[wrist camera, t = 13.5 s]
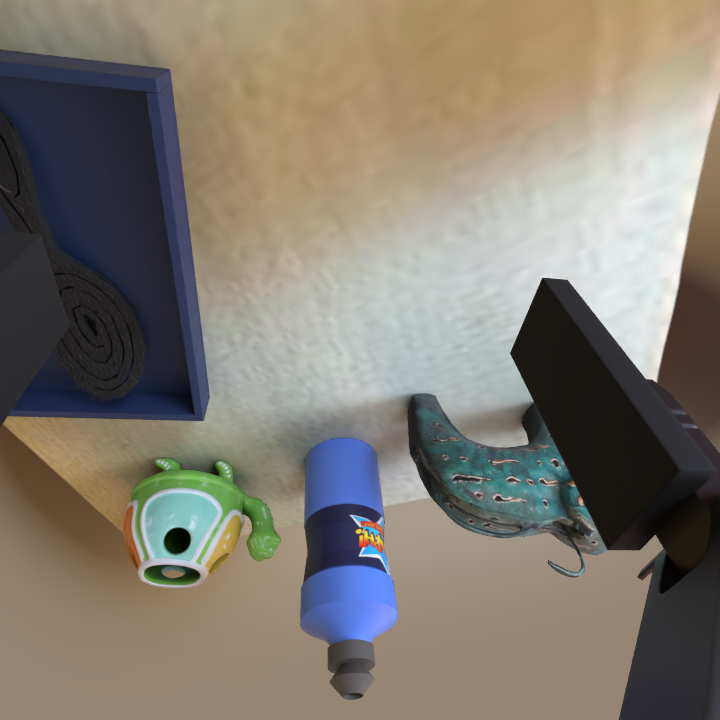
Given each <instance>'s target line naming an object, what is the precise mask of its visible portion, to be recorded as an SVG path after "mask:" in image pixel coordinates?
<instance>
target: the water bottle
mask: <svg viewBox="0 0 720 720" xmlns="http://www.w3.org/2000/svg"><path fill="white" fill-rule="evenodd" d="M384 523H385V521H384V513H383V503H382V495H381V486H380V478H379V470H378V461H377V455H376V453H375V451H374V450H373V448H372V447H371V446H369V445H368V444H366V443H364V442H362V441H359V440H356V439H350V438H337V439H331V440H328V441H325V442H322V443H320V444H318V445H317V446H315V447H314V448H313V449H312V450H311V451H310V452H309V453H308V455H307V457H306V468H305V516H304V528H305V533H306V541H307V549H308V552H307V560H306V567H305V575H304V582H303V585H302V587H301V613H300V626H301V628H302V630H303V631H305V632H306V633H307V634H309V635H311V636H313V637H316V638H319V639H321V640H324V641H326V642H327V643H328V644H329V645H330V646H329V648H328V670H329V671H330V672H332V673H335V675H334V676H333V678H332V679H331V680H330V684H331V685H332V686H333V687H334V688H335V689H336V691H337V692H338V693H339V694H340V695H341V696H342V697H343V698H344V699H348V700H353V699H358V698H361V697H363V695H364V694H365V692H366V691H367V690H368V688H369V687H370V685H371V684H372V682H373V681H374V677H373V676H372V675H371V673H370V672H369V670H371V669H372V668H373V667H374V666H375V660H374V647H373V644H372V643H371V641H372V640H373V638H374V637H376V636H378V635H380V634H382V633H383V632H385V631H387V630H389V629H390V628H391V627H392V626H393V625H394V624H395V623H396V622H397V619H398V614H397V606H396V598H395V590H394V583H393V580H392V578H391V576H390V572H389V567H388V563H387V559H386V554H385V551H384Z"/></svg>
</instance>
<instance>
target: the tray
mask: <svg viewBox="0 0 720 720" xmlns="http://www.w3.org/2000/svg"><path fill="white" fill-rule="evenodd" d="M0 110H1V111H3V112H4V113H5V114H6V115H7V116H8V117H9V118H10V119H11V120H12V121H13V123H14V125H15V128H16V130H17V132H18V134H19V136H20V138H21V141H22V143H23V145H24V147H25V149H26V151H27V154H28V156H29V158H30V160H31V165H32V170H33V175H34V180H35V185H36V190H37V195H38V200H39V205H40V208H41V210H42V213H43V215H44V217H45V220H46V222H47V224H48V227H49V229H50V232H51V234H52V236H53V239H54V241H55V243H56V246H57V248H58V249H60V250H62V251H63V252H65V253H66V254H68V255H70V256H71V257H73V258H75V259H76V260H78V261H79V262H81V263H83V264H84V265H86V266H87V267H89V268H91V269H92V270H94V271H95V272H97V273H99V274H100V275H102V276H103V277H105V278H106V279H108V280H110V281H111V282H112V283H113V284H114V285H115V286H116V287H117V288H118V289H119V290H120V291H121V292H122V294H123V295H124V296H125V297H126V298H127V299H128V300H129V301H130V302H131V303H132V305H133V306H134V308H135V311H136V314H137V317H138V320H139V322H140V325H141V328H142V331H143V334H144V337H145V340H146V343H147V347H146V354H145V363H144V368H143V375H142V376H141V378H140V380H139V382H138V383H137V384H136V385H135V386H134V388H132V389H131V390H130V391H129V392H128V393H127V394H126V395H125V397H122V399H121V397H119V398H118V400H117V398H113V399H106V400H102V402H101V399H100V398H99V397H97V396H95V395H93V394H91V393H90V392H88V391H86V390H84V389H82V388H80V387H79V386H77V385H76V383H75V382H74V380H73V379H72V377H71V376H70V375H69V373H68V372H67V370H66V369H65V368H64V366H63V365H62V363H61V362H60V360H59V359H58V357H57V355H56V353H55V351H54V350H52V352H51V353H50V355H49V356H48V358H47V359H46V361H45V362H44V364H43V365H42V367H41V368H40V369H39V371H38V372H37V374H36V375H35V377H34V378H33V380H32V381H31V383H30V384H29V386H28V387H27V389H26V390H25V391H24V393H23V394H22V396H21V397H20V399H19V400H18V402H17V403H16V405H15V406H14V408H13V409H12V411H11V412H10V413H9V415H8V416H27V417H65V418H104V419H143V420H182V421H204V418H205V414H206V410H207V405H208V401H209V398H210V395H209V387H208V379H207V370H206V362H205V354H204V346H203V337H202V329H201V321H200V313H199V304H198V296H197V288H196V279H195V271H194V263H193V255H192V246H191V238H190V230H189V222H188V213H187V205H186V197H185V189H184V180H183V172H182V164H181V156H180V147H179V139H178V131H177V122H176V114H175V106H174V98H173V89H172V81H171V73H170V69H164V68H155V67H146V66H138V65H129V64H120V63H111V62H103V61H94V60H85V59H77V58H68V57H59V56H50V55H42V54H33V53H24V52H15V51H7V50H0ZM5 232H16V231H15V230H14V228H13V226H12V225H11V223H10V221H9V220H8V218H7V216H6V214H5V213H4V211H3V210H2V208H1V207H0V237H1V236H2V235H3V234H4V233H5ZM57 273H59V272H56V273H54V274H53V275H54V276H55V275H56V274H57ZM65 288H66V287H65ZM65 288H64V289H65ZM64 289H63V290H64ZM61 295H62V292H61ZM76 308H77V306H76ZM88 320H89V322H90V323H91V325H92V326H93V325H94V327H93V328H94V329H95V321H93V320H92V319H91V318H89V317H88ZM95 330H96V331H98V330H97V326H96V329H95ZM112 355H113V351H112V353H111V354H110V356H109V358H110V357H111V356H112ZM109 358H108V359H109ZM123 364H124V359H123V362H122V365H121V367H120V369H119V370H118V371H117V372H116V373H115V374H114V375H116V374H117V373H118V372H119V371H120V370H121V368H122V366H123ZM134 364H135V359H134V362H133V366H134ZM133 366H132V368H131V370H130V372H129V373H128V374H127V376H126V377H125V378H124V379H123V381H122V382H124V381H125V380H126V379H127V377H128V376H129V375H130V373H131V371H132V369H133ZM122 382H121V383H122ZM78 387H79V389H77V388H78ZM85 392H86V394H85ZM91 396H92V398H93V400H92V399H90V398H91ZM107 400H108V402H107ZM109 400H110V402H109Z"/></svg>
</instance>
